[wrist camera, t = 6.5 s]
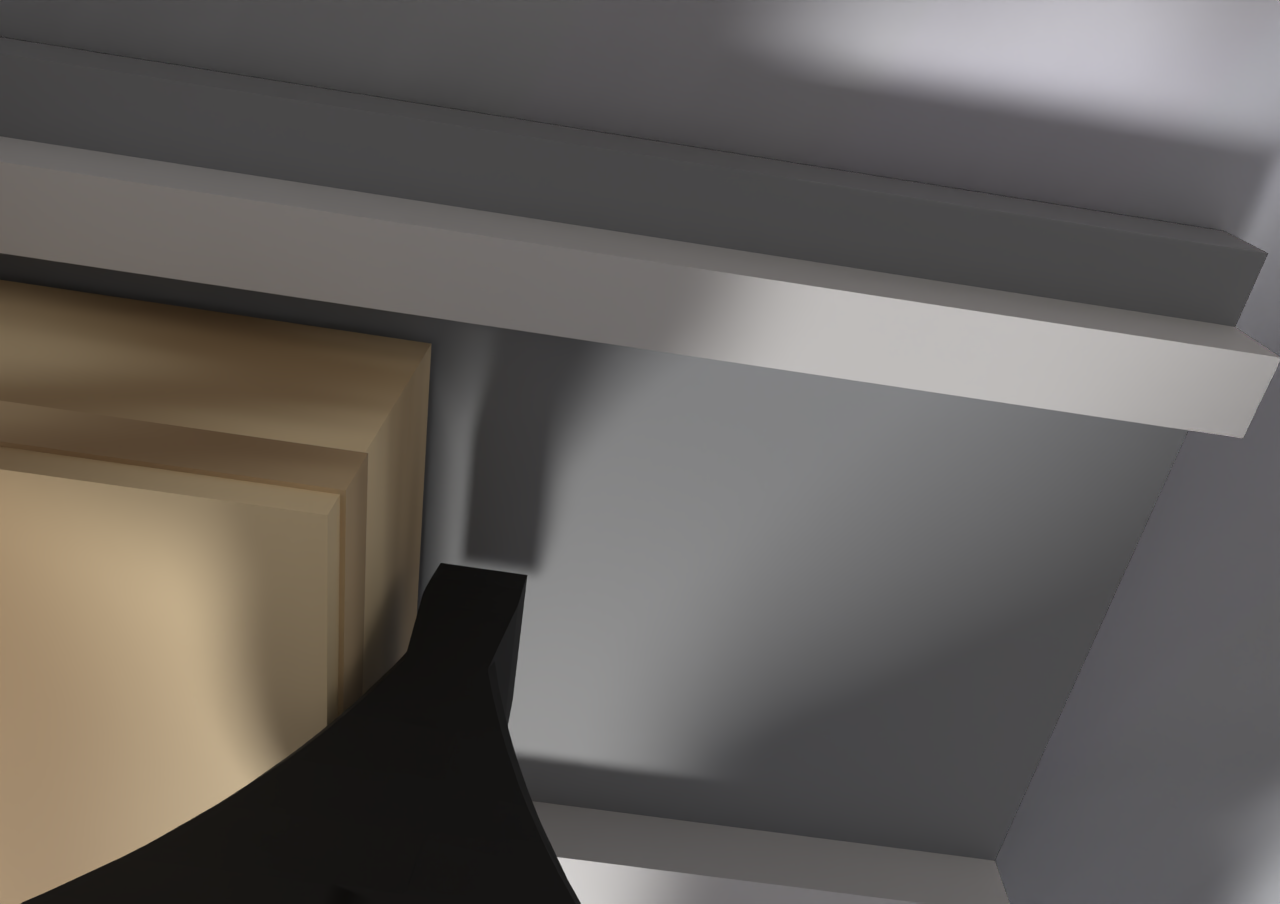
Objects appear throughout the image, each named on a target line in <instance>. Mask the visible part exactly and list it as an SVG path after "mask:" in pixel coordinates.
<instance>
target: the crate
mask: <svg viewBox="0 0 1280 904" xmlns="http://www.w3.org/2000/svg"><path fill="white" fill-rule="evenodd" d="M430 362H431V343H424V342H417V341H411V340H404V339H397V338H390V337H384V336H377V335H370V334H363V333H357V332H350V331H343V330H336V329H329V328H323V327H316V326H309V325H302V324H296V323H289V322H282V321H275V320H269V319H262V318H255V317H248V316H242V315H235V314H228V313H221V312H215V311H208V310H201V309H194V308H188V307H181V306H174V305H167V304H161V303H154V302H147V301H140V300H134V299H127V298H120V297H113V296H107V295H100V294H93V293H86V292H80V291H73V290H66V289H59V288H53V287H46V286H39V285H32V284H26V283H19V282H12V281H5V280H0V904H21V903H22V902H24V901H26V900H29V899H31V898H33V897H36V896H38V895H40V894H43V893H45V892H47V891H50V890H52V889H54V888H56V887H58V886H60V885H62V884H65V883H67V882H69V881H71V880H73V879H75V878H78V877H80V876H82V875H84V874H86V873H88V872H91V871H93V870H95V869H97V868H99V867H101V866H104V865H106V864H108V863H110V862H112V861H114V860H116V859H119V858H121V857H123V856H125V855H127V854H129V853H131V852H133V851H135V850H137V849H139V848H141V847H143V846H144V845H146V844H148V843H150V842H152V841H154V840H156V839H157V838H159V837H161V836H163V835H164V834H166V833H168V832H170V831H171V830H173V829H175V828H177V827H178V826H180V825H182V824H184V823H185V822H187V821H189V820H190V819H192V818H194V817H196V816H197V815H199V814H201V813H203V812H204V811H206V810H208V809H210V808H211V807H213V806H215V805H216V804H218V803H220V802H221V801H223V800H224V799H226V798H228V797H229V796H231V795H232V794H234V793H235V792H237V791H238V790H240V789H242V788H243V787H245V786H246V785H248V784H249V783H251V782H252V781H253V780H255V779H256V778H258V777H259V776H261V775H262V774H263V773H265V772H266V771H268V770H269V769H271V768H272V767H273V766H275V765H276V764H278V763H279V762H281V761H282V760H283V759H285V758H286V757H288V756H289V755H290V754H292V753H293V752H294V751H296V750H297V749H298V748H300V747H301V746H302V745H304V744H305V743H306V742H307V741H309V740H310V739H311V738H313V737H314V736H315V735H316V734H318V733H319V732H320V731H321V730H323V729H324V728H325V727H326V726H328V725H329V724H330V723H331V722H332V721H334V720H335V719H336V718H337V717H338V716H339V715H341V714H342V713H343V712H344V711H345V710H347V709H348V708H349V707H350V706H351V705H352V704H353V703H354V702H355V701H357V700H358V699H359V698H360V697H361V696H362V695H363V694H364V693H365V692H366V691H367V690H368V689H369V688H370V687H371V686H372V685H374V684H375V683H376V682H377V681H378V680H379V679H380V678H381V677H382V676H383V675H384V674H385V673H386V672H387V671H388V670H390V669H391V668H392V667H393V666H394V665H395V664H396V662H397V661H398V660H399V659H400V658H401V657H402V656H403V655H404V654H405V653H406V652H407V649H408V645H409V642H410V638H411V634H412V631H413V627H414V623H415V620H416V616H417V601H418V583H419V564H420V546H421V527H422V509H423V491H424V472H425V454H426V435H427V417H428V399H429V380H430Z"/></svg>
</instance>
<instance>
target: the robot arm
mask: <svg viewBox="0 0 1280 904" xmlns="http://www.w3.org/2000/svg"><path fill="white" fill-rule="evenodd" d="M526 583H527V575H524V574H517V573H510V572H503V571H496V570H489V569H481V568H474V567H467V566H460V565H453V564H446V563H440V565H439V566H438V568H437V569H436V571H435V572H434V574H433V576H432V577H431V579H430V581H429V583H428V585H427V586H426V588H425V590H424V592H423V595H422V599H421V602H420V606H419V609H418V613H417V616H416V620H415V623H414V627H413V631H412V634H411V638H410V642H409V645H408V649H407V652H406V653H405V654H404V655H403V656H402V657H401V658H400V659H399V660H398V661H397V662H396V664H395V665H394V666H393V667H392V668H391V669H390V670H388V671H387V672H386V673H385V674H384V675H383V676H382V677H381V678H380V679H379V680H378V681H377V682H376V683H375V684H374V685H372V686H371V687H370V688H369V689H368V690H367V691H366V692H365V693H364V694H363V695H362V696H361V697H360V698H359V699H358V700H357V701H355V702H354V703H353V704H352V705H351V706H350V707H349V708H348V709H347V710H345V711H344V712H343V713H342V714H341V715H339V716H338V717H337V718H336V719H335V720H334V721H332V722H331V723H330V724H329V725H328V726H326V727H325V728H324V729H323V730H321V731H320V732H319V733H318V734H316V735H315V736H314V737H313V738H311V739H310V740H309V741H307V742H306V743H305V744H304V745H302V746H301V747H300V748H298V749H297V750H296V751H294V752H293V753H292V754H290V755H289V756H288V757H286V758H285V759H283V760H282V761H281V762H279V763H278V764H276V765H275V766H273V767H272V768H271V769H269V770H268V771H266V772H265V773H263V774H262V775H261V776H259V777H258V778H256V779H255V780H253V781H252V782H251V783H249V784H248V785H246V786H245V787H243V788H242V789H240V790H238V791H237V792H235V793H234V794H232V795H231V796H229V797H228V798H226V799H224V800H223V801H221V802H220V803H218V804H216V805H215V806H213V807H211V808H210V809H208V810H206V811H204V812H203V813H201V814H199V815H197V816H196V817H194V818H192V819H190V820H189V821H187V822H185V823H184V824H182V825H180V826H178V827H177V828H175V829H173V830H171V831H170V832H168V833H166V834H164V835H163V836H161V837H159V838H157V839H156V840H154V841H152V842H150V843H148V844H146V845H144V846H143V847H141V848H139V849H137V850H135V851H133V852H131V853H129V854H127V855H125V856H123V857H121V858H119V859H116V860H114V861H112V862H110V863H108V864H106V865H104V866H101V867H99V868H97V869H95V870H93V871H91V872H88V873H86V874H84V875H82V876H80V877H78V878H75V879H73V880H71V881H69V882H67V883H65V884H62V885H60V886H58V887H56V888H54V889H52V890H50V891H47V892H45V893H43V894H40V895H38V896H36V897H33V898H31V899H29V900H26V901H24V902H22V903H21V904H581V902H580V901H579V899H578V897H577V895H576V893H575V892H574V890H573V888H572V886H571V885H570V883H569V881H568V879H567V877H566V875H565V873H564V871H563V868H562V866H561V864H560V862H559V860H558V858H557V856H556V854H555V852H554V849H553V847H552V845H551V843H550V841H549V839H548V837H547V835H546V833H545V830H544V828H543V826H542V824H541V822H540V819H539V817H538V814H537V812H536V809H535V807H534V804H533V802H532V799H531V797H530V794H529V791H528V789H527V786H526V783H525V780H524V777H523V775H522V772H521V769H520V766H519V763H518V760H517V757H516V753H515V750H514V747H513V743H512V740H511V736H510V733H509V729H508V723H509V717H510V712H511V707H512V702H513V694H514V686H515V677H516V669H517V660H518V652H519V643H520V634H521V626H522V617H523V609H524V600H525V592H526Z"/></svg>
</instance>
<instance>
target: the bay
mask: <svg viewBox="0 0 1280 904" xmlns="http://www.w3.org/2000/svg"><path fill="white" fill-rule="evenodd" d="M1267 255H1268V253H1267V252H1265V251H1263V250H1261V249H1259V248H1257V247H1255V246H1253V245H1251V244H1249V243H1247V242H1245V241H1243V240H1241V239H1239V238H1237V237H1235V236H1233V235H1231V234H1229V233H1227V232H1225V231H1221V230H1214V229H1208V228H1202V227H1195V226H1189V225H1183V224H1176V223H1170V222H1164V221H1157V220H1151V219H1145V218H1139V217H1132V216H1126V215H1120V214H1113V213H1107V212H1101V211H1094V210H1088V209H1082V208H1075V207H1069V206H1063V205H1057V204H1050V203H1044V202H1038V201H1031V200H1025V199H1019V198H1012V197H1006V196H1000V195H993V194H987V193H981V192H974V191H968V190H962V189H956V188H949V187H943V186H937V185H930V184H924V183H918V182H911V181H905V180H899V179H892V178H886V177H880V176H873V175H867V174H861V173H855V172H848V171H842V170H836V169H829V168H823V167H817V166H810V165H804V164H798V163H791V162H785V161H779V160H773V159H766V158H760V157H754V156H747V155H741V154H735V153H728V152H722V151H716V150H709V149H703V148H697V147H690V146H684V145H678V144H672V143H665V142H659V141H653V140H646V139H640V138H634V137H627V136H621V135H615V134H608V133H602V132H596V131H589V130H583V129H577V128H571V127H564V126H558V125H552V124H545V123H539V122H533V121H526V120H520V119H514V118H507V117H501V116H495V115H489V114H482V113H476V112H470V111H463V110H457V109H451V108H444V107H438V106H432V105H425V104H419V103H413V102H406V101H400V100H394V99H388V98H381V97H375V96H369V95H362V94H356V93H350V92H343V91H337V90H331V89H324V88H318V87H312V86H306V85H299V84H293V83H287V82H280V81H274V80H268V79H261V78H255V77H249V76H242V75H236V74H230V73H223V72H217V71H211V70H205V69H198V68H192V67H186V66H179V65H173V64H167V63H160V62H154V61H148V60H141V59H135V58H129V57H122V56H116V55H110V54H104V53H97V52H91V51H85V50H78V49H72V48H66V47H59V46H53V45H47V44H40V43H34V42H28V41H22V40H15V39H9V38H3V37H0V280H5V281H12V282H19V283H26V284H32V285H39V286H46V287H53V288H59V289H66V290H73V291H80V292H86V293H93V294H100V295H107V296H113V297H120V298H127V299H134V300H140V301H147V302H154V303H161V304H167V305H174V306H181V307H188V308H194V309H201V310H208V311H215V312H221V313H228V314H235V315H242V316H248V317H255V318H262V319H269V320H275V321H282V322H289V323H296V324H302V325H309V326H316V327H323V328H329V329H336V330H343V331H350V332H357V333H363V334H370V335H377V336H384V337H390V338H397V339H404V340H411V341H417V342H424V343H431V362H430V380H429V399H428V417H427V435H426V454H425V472H424V491H423V509H422V527H421V546H420V564H419V583H418V601H417V613H418V609H419V606H420V602H421V599H422V595H423V592H424V590H425V588H426V586H427V585H428V583H429V581H430V579H431V577H432V576H433V574H434V572H435V571H436V569H437V568H438V566H439V565H440V563H446V564H453V565H460V566H467V567H474V568H481V569H489V570H496V571H503V572H510V573H517V574H524V575H527V583H526V592H525V600H524V609H523V617H522V626H521V634H520V643H519V652H518V660H517V669H516V677H515V686H514V694H513V702H512V707H511V712H510V717H509V723H508V729H509V733H510V736H511V740H512V743H513V747H514V750H515V753H516V757H517V760H518V763H519V766H520V769H521V772H522V775H523V777H524V780H525V783H526V786H527V789H528V791H529V794H530V797H531V799H532V802H533V804H534V807H535V809H536V812H537V814H538V817H539V819H540V822H541V824H542V826H543V828H544V830H545V833H546V835H547V837H548V839H549V841H550V843H551V845H552V847H553V849H554V852H555V854H556V856H557V858H558V860H559V862H560V864H561V866H562V868H563V871H564V873H565V875H566V877H567V879H568V881H569V883H570V885H571V886H572V888H573V890H574V892H575V893H576V895H577V897H578V899H579V901H580V902H581V904H1010V902H1009V899H1008V896H1007V894H1006V891H1005V888H1004V885H1003V882H1002V880H1001V877H1000V874H999V871H998V868H997V866H996V863H995V859H996V857H997V855H998V852H999V850H1000V848H1001V846H1002V844H1003V841H1004V839H1005V837H1006V835H1007V832H1008V830H1009V828H1010V826H1011V824H1012V821H1013V819H1014V817H1015V815H1016V812H1017V810H1018V808H1019V806H1020V804H1021V801H1022V799H1023V797H1024V795H1025V792H1026V790H1027V788H1028V786H1029V784H1030V781H1031V779H1032V777H1033V775H1034V772H1035V770H1036V768H1037V766H1038V764H1039V761H1040V759H1041V757H1042V755H1043V752H1044V750H1045V748H1046V746H1047V744H1048V741H1049V739H1050V737H1051V735H1052V732H1053V730H1054V728H1055V726H1056V724H1057V721H1058V719H1059V717H1060V715H1061V712H1062V710H1063V708H1064V706H1065V704H1066V701H1067V699H1068V697H1069V695H1070V692H1071V690H1072V688H1073V686H1074V684H1075V681H1076V679H1077V677H1078V675H1079V672H1080V670H1081V668H1082V666H1083V664H1084V661H1085V659H1086V657H1087V655H1088V652H1089V650H1090V648H1091V646H1092V644H1093V641H1094V639H1095V637H1096V635H1097V633H1098V630H1099V628H1100V626H1101V624H1102V621H1103V619H1104V617H1105V615H1106V613H1107V610H1108V608H1109V606H1110V604H1111V601H1112V599H1113V597H1114V595H1115V593H1116V590H1117V588H1118V586H1119V584H1120V581H1121V579H1122V577H1123V575H1124V573H1125V570H1126V568H1127V566H1128V564H1129V561H1130V559H1131V557H1132V555H1133V553H1134V550H1135V548H1136V546H1137V544H1138V541H1139V539H1140V537H1141V535H1142V533H1143V530H1144V528H1145V526H1146V524H1147V521H1148V519H1149V517H1150V515H1151V513H1152V510H1153V508H1154V506H1155V504H1156V501H1157V499H1158V497H1159V495H1160V493H1161V490H1162V488H1163V486H1164V484H1165V481H1166V479H1167V477H1168V475H1169V473H1170V470H1171V468H1172V466H1173V464H1174V461H1175V459H1176V457H1177V455H1178V453H1179V450H1180V448H1181V446H1182V444H1183V441H1184V439H1185V437H1186V435H1187V433H1188V430H1190V431H1196V432H1203V433H1210V434H1216V435H1223V436H1230V437H1236V438H1243V437H1244V435H1245V433H1246V431H1247V429H1248V427H1249V425H1250V423H1251V421H1252V419H1253V417H1254V414H1255V412H1256V410H1257V408H1258V406H1259V404H1260V402H1261V400H1262V398H1263V396H1264V394H1265V392H1266V389H1267V387H1268V385H1269V383H1270V381H1271V379H1272V377H1273V375H1274V373H1275V371H1276V369H1277V367H1278V365H1279V362H1280V356H1278V355H1277V354H1275V353H1274V352H1272V351H1271V350H1269V349H1268V348H1266V347H1265V346H1263V345H1262V344H1260V343H1259V342H1257V341H1256V340H1254V339H1253V338H1251V337H1250V336H1248V335H1247V334H1245V333H1244V332H1242V331H1241V330H1239V329H1238V328H1236V327H1235V326H1236V324H1237V321H1238V319H1239V317H1240V315H1241V313H1242V310H1243V308H1244V306H1245V304H1246V301H1247V299H1248V297H1249V295H1250V293H1251V290H1252V288H1253V286H1254V284H1255V281H1256V279H1257V277H1258V275H1259V273H1260V270H1261V268H1262V266H1263V264H1264V261H1265V259H1266V257H1267Z"/></svg>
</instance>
